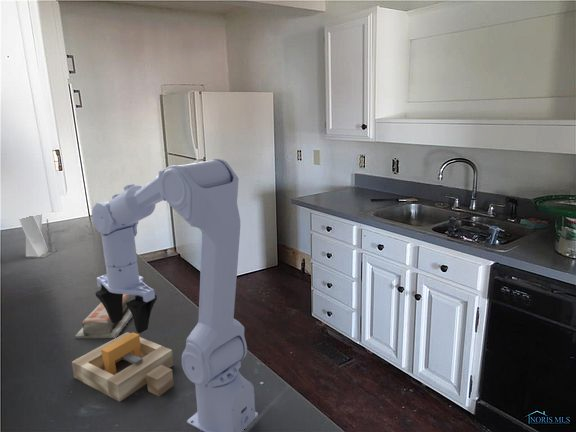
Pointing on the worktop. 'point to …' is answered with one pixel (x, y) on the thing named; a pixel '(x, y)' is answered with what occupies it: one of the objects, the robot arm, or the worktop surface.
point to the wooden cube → (159, 380)
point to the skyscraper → (36, 237)
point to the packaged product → (104, 322)
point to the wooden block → (120, 351)
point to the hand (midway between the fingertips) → (129, 325)
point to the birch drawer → (129, 378)
